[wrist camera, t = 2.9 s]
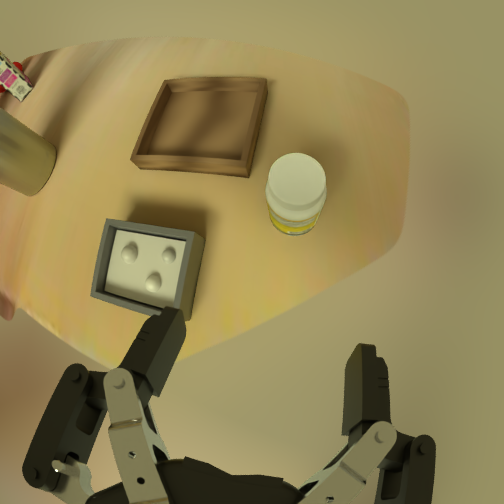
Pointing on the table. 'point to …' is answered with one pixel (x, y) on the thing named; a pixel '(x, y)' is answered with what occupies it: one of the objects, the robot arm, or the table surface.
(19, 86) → the candy bar box
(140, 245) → the bin
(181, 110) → the walnut tray
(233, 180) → the table surface
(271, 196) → the supplement bottle
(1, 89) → the tomato
